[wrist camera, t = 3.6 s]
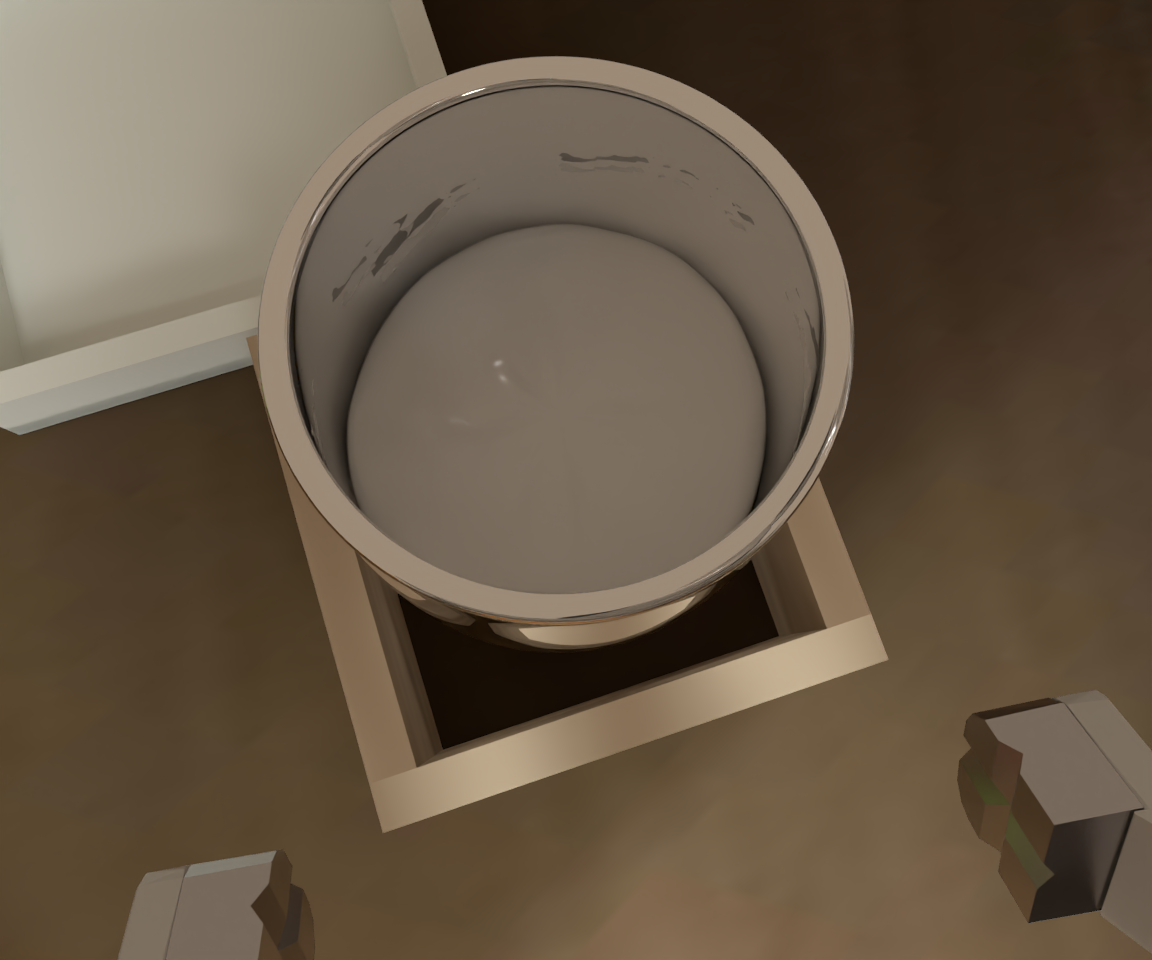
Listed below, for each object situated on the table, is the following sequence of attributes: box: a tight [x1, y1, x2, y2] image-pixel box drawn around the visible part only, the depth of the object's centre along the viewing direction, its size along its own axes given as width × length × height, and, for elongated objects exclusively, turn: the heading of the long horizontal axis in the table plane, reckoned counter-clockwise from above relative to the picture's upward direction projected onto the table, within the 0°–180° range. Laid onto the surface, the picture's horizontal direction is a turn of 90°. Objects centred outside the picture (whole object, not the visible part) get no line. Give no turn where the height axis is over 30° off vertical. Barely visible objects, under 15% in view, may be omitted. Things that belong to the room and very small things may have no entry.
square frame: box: [246, 335, 888, 833], centre depth 23 cm, size 11×11×4 cm
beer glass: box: [257, 56, 855, 653], centre depth 18 cm, size 7×7×15 cm
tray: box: [0, 0, 447, 435], centre depth 26 cm, size 14×14×2 cm
